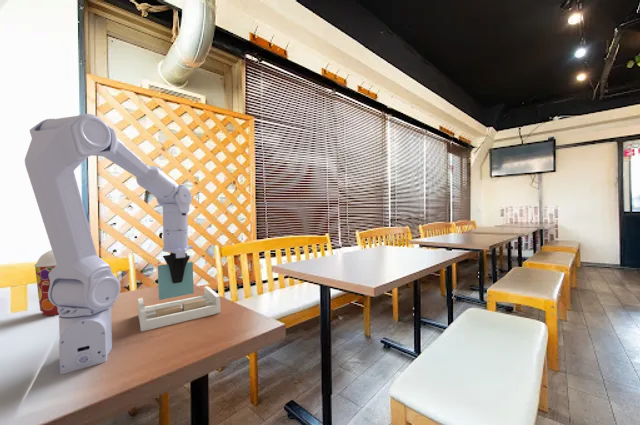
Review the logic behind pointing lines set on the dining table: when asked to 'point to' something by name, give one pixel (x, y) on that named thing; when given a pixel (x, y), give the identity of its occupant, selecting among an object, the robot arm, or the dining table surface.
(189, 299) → the rack
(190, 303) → the offcut
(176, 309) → the offcut
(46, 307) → the smoothie
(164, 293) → the teal square slab
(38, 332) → the dining table surface
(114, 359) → the dining table surface
